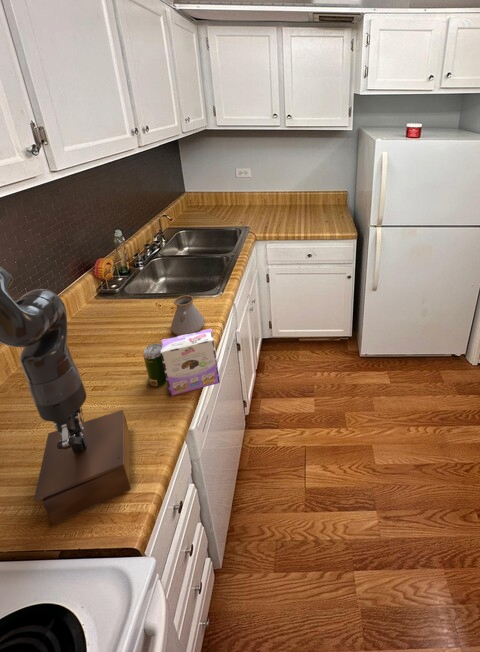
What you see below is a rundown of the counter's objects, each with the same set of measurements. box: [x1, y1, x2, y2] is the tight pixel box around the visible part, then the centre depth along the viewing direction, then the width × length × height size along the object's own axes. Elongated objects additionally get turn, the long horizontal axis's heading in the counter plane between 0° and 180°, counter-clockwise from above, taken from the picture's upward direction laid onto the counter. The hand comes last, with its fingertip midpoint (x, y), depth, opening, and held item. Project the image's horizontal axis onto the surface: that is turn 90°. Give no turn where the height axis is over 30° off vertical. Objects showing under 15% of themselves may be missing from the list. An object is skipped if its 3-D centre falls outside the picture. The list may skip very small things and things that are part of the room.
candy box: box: [160, 328, 221, 397], centre depth 95 cm, size 14×6×16 cm, turn 111°
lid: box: [33, 409, 125, 502], centre depth 71 cm, size 14×15×1 cm
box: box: [41, 414, 132, 526], centre depth 73 cm, size 14×15×8 cm
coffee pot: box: [170, 294, 205, 336], centre depth 113 cm, size 21×12×15 cm, turn 19°
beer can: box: [143, 343, 167, 388], centre depth 96 cm, size 5×5×12 cm
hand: (80, 449), depth 70 cm, fingers closed
